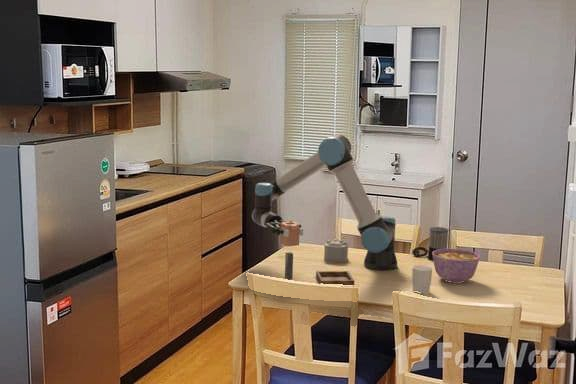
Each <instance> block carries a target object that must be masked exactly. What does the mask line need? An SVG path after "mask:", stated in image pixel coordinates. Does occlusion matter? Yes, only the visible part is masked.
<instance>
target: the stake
mask: <svg viewBox="0 0 576 384" xmlns="http://www.w3.org/2000/svg"><path fill="white" fill-rule="evenodd" d="M284 255H285V260H284V261H285V262H284V263H285V264H284V265H285V266H284V267H285V268H284V270H285V271H284V278H285V279H286V278H287V279H286V280H291V279H293V277H294V276H293V274H294V271H293V269H294V253H293V252H285V254H284Z"/></svg>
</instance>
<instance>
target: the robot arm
mask: <svg viewBox="0 0 576 384" xmlns="http://www.w3.org/2000/svg"><path fill="white" fill-rule="evenodd" d="M351 152H352V145H351V142H350V140H349V139H348V138H347V137H346V136H345V135H342V134H335V135H331V136H328V137H326V138H325V139H323V140H322V141H321V142H320V144H319V146H318V148H317V151H316V152H315V153H314V154H312V155H310V156H309V157H308V158H307V159H305V160H303V161H302V162H300V163H299V164H297V165H296V166H294V167H293V168H291V169H290V170H289V171H286V172H285V173H284V174H283V175H282V174H281V176H280V177H278V178H276V179H275V180H273V181H272V182H258V183H256V184H255V190H254V193H255V195H254V196H255V197H254V204H255V205H254V206H255V208H254V210H253V211H252V212H251V218H252V221H253V222H254V223H255V224H257V225H258V226H261V227H263V229H264V230H267V231H268V232H271V234H276V235H277V236H280V234H282V235H284V236H286V237H289V230H287V229H285V228H283V227H280V223H282V222H287V221H284V219H283V218H282V217H281V216H280V215H279V214H276V213H274V212H272V209H273V208H272V207H273V204H272V203H273V201H275V200H276V199H279V198H281V196H283V195H284V194H286V193H287V192H288V191H290V190H291V189H293V188H295V187H296V186H298V185H299V184H301V183H303V182H304V181H306V180H307V179H308V178H310V177H311V176H313V175H315V174H316V173H318V172H319V171H321V170H322V169H324V168H325V167H326V168H327V170H328V172H329V173H332V174H334V175H335V178H336V180H337V182H338V184H339V186H340V187H341V189H342V190H341V191H342V192H343V193H344V196H345V198H346V200H347V202H348V204H349V206H350V209H351V210H352V213H353V215H354V216H355V218H356V221H357V223H358V224H357V227H356V228H357V231H358V233H359V234H360V236H361V237H360V241H361V245H362V247H363V248H364V249H365V250H366V253H365V257H364V258H363V259H364V261H363V266H364V267H365V268H367V269H369V270H370V269H371V270H376V271H392V270H395V269H397V268H398V259H397V256H396V253H395V252H396V251H395V241H396V238H395V236H396V225H397V224H396V219H395V218H394V217H391V216H383V215H379V214H377V213H376V210H375V209H374V207H373V205H372V203H371V201H370V199H369V197H368V194H367V193H366V190H365V188H364V187H363V186H364V185H363V184H362V182H361V180H360V178H359V177H358V174H357V172H356V170H355V168H354V166H353V163H354V158H353V156H352V154H351ZM289 222H294V221H293V220H290V221H289ZM299 236H304V228H302V224H300V227H299Z"/></svg>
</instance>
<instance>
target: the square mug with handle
mask: <svg viewBox="0 0 576 384" xmlns="http://www.w3.org/2000/svg"><path fill="white" fill-rule="evenodd" d="M300 225H301V224H299V223H298V222H296V221H293V222H290V221H286V222H282V223H280V227H283V228H285V229H287V230H289V237H286V236H284V235H282V234H280V235H279V236H280V237H279V238H280V239H279V244H280V245H282V246H284V247H286V248H287V247H295V246H300V235H299V227H300Z"/></svg>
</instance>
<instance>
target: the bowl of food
mask: <svg viewBox="0 0 576 384" xmlns="http://www.w3.org/2000/svg"><path fill="white" fill-rule="evenodd" d="M432 255H433V266H434V270H435V273H436V274H437V276H438V277H439V278H441V279H443V280H444V281H445V280H447V281H451V282H462V281H464V282H467V281H469V280H471V279H472V278H473V277H474V276H475V273H476V270H477V267H478V264H479V261H480V258H481V255H480V254H479V253H477V252H474V251H471V250H466V249H460V248H447V249H438V250H435V251H433V252H432ZM447 281H446V282H447Z"/></svg>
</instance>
